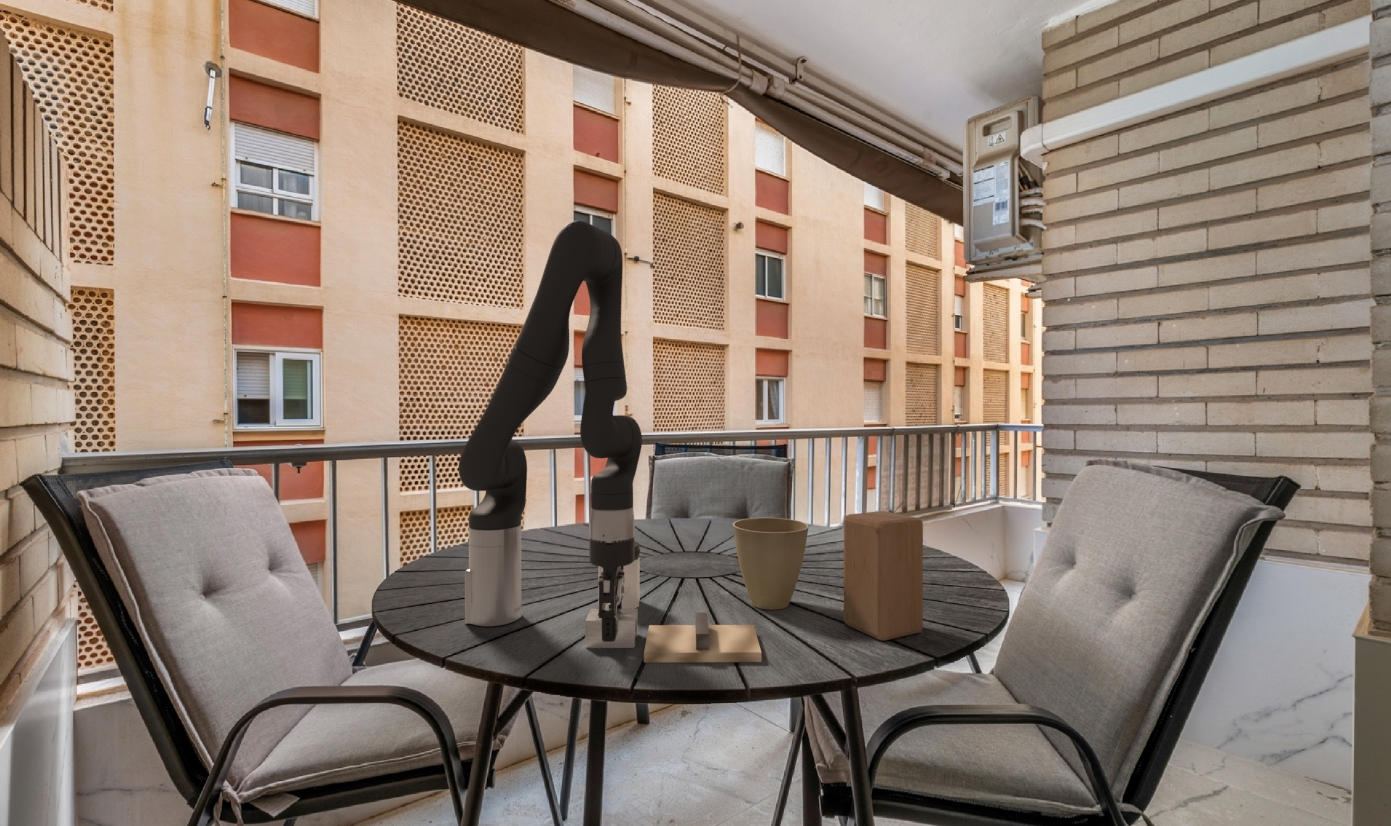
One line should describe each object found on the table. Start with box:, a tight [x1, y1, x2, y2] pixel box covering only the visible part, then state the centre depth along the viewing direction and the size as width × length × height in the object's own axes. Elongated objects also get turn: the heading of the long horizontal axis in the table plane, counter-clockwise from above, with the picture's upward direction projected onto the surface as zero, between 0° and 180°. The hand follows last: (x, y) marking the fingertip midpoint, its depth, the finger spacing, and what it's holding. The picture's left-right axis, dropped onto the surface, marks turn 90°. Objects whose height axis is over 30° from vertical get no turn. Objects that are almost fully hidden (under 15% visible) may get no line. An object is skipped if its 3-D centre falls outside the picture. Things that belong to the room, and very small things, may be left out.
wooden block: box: [843, 510, 924, 642], centre depth 108 cm, size 10×10×20 cm
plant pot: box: [732, 517, 809, 611], centre depth 122 cm, size 15×15×16 cm
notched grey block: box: [584, 608, 639, 649], centre depth 103 cm, size 6×8×4 cm
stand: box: [643, 612, 762, 664], centre depth 100 cm, size 18×12×4 cm, turn 90°
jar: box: [597, 541, 641, 609], centre depth 122 cm, size 9×8×12 cm
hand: (612, 631), depth 103 cm, fingers open, 8 cm apart
